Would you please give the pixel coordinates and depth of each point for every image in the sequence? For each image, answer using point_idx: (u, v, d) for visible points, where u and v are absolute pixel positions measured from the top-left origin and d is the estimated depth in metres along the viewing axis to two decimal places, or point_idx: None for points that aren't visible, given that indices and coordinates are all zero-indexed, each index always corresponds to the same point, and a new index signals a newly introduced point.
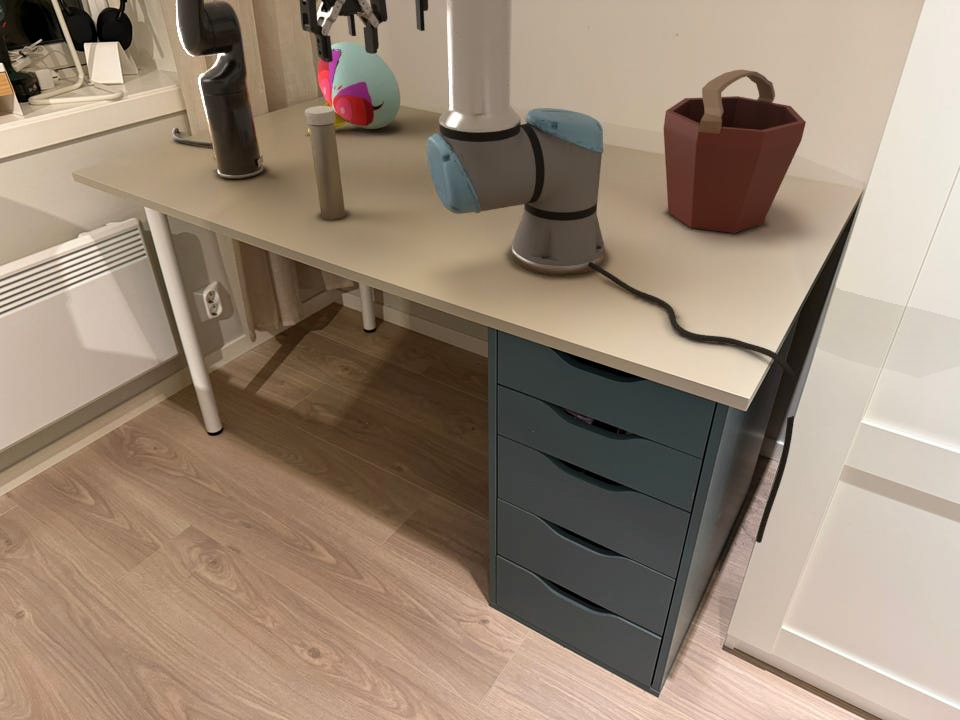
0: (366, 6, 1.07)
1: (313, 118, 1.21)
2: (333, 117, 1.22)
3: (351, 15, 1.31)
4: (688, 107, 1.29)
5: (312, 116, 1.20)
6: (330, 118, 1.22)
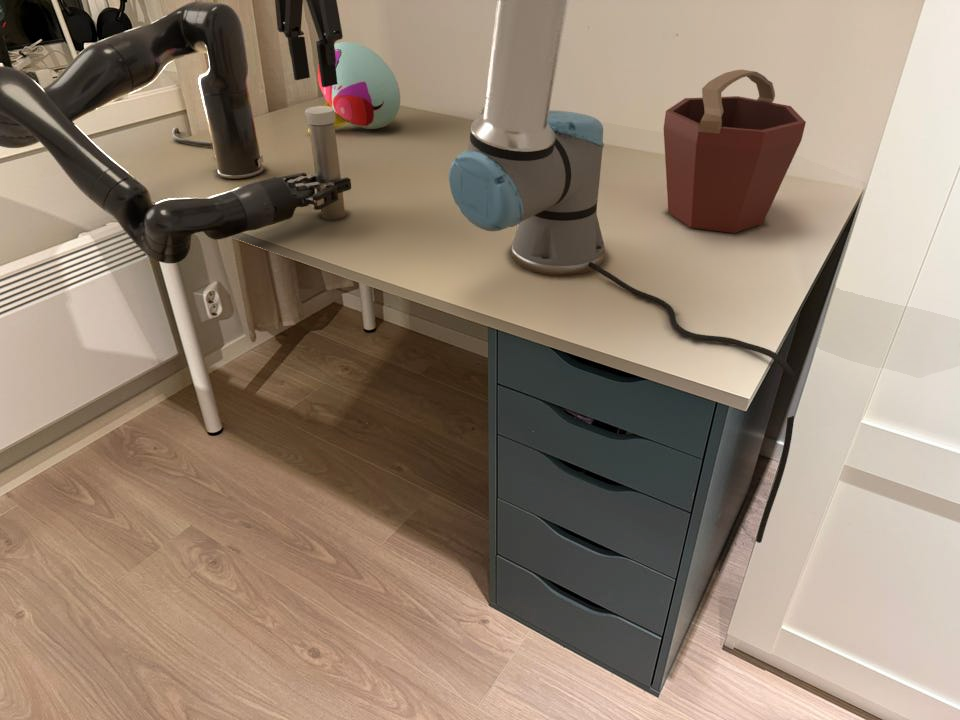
0: (299, 178, 1.27)
1: (313, 118, 1.21)
2: (333, 117, 1.22)
3: (292, 57, 1.19)
4: (688, 107, 1.29)
5: (312, 116, 1.20)
6: (330, 118, 1.22)
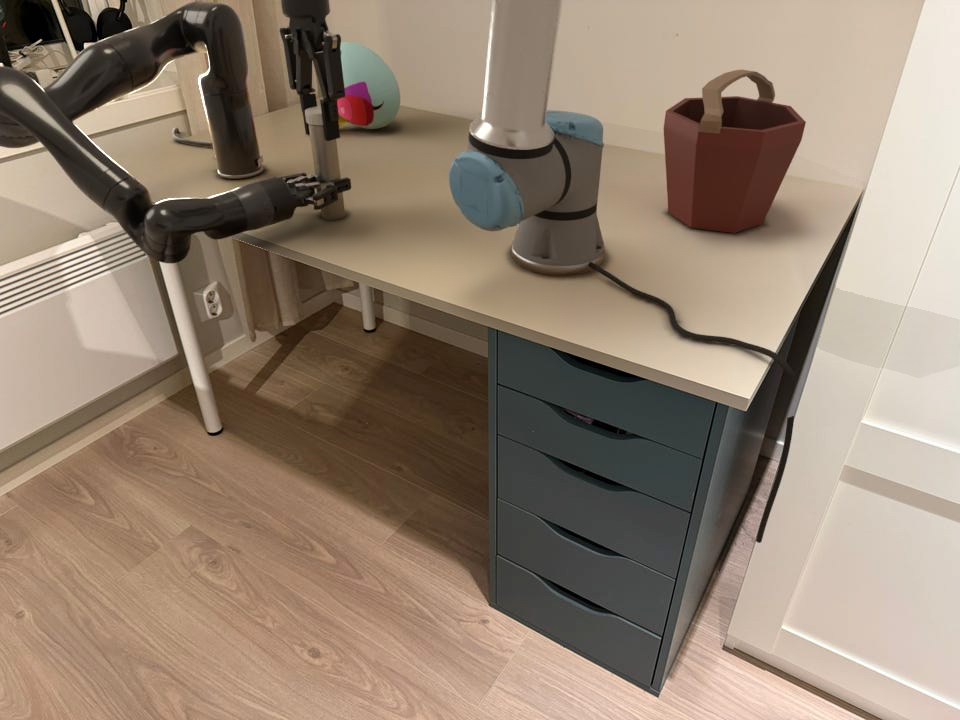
0: (299, 178, 1.27)
1: (313, 118, 1.21)
2: None
3: (303, 114, 1.23)
4: (688, 107, 1.29)
5: (312, 116, 1.20)
6: None
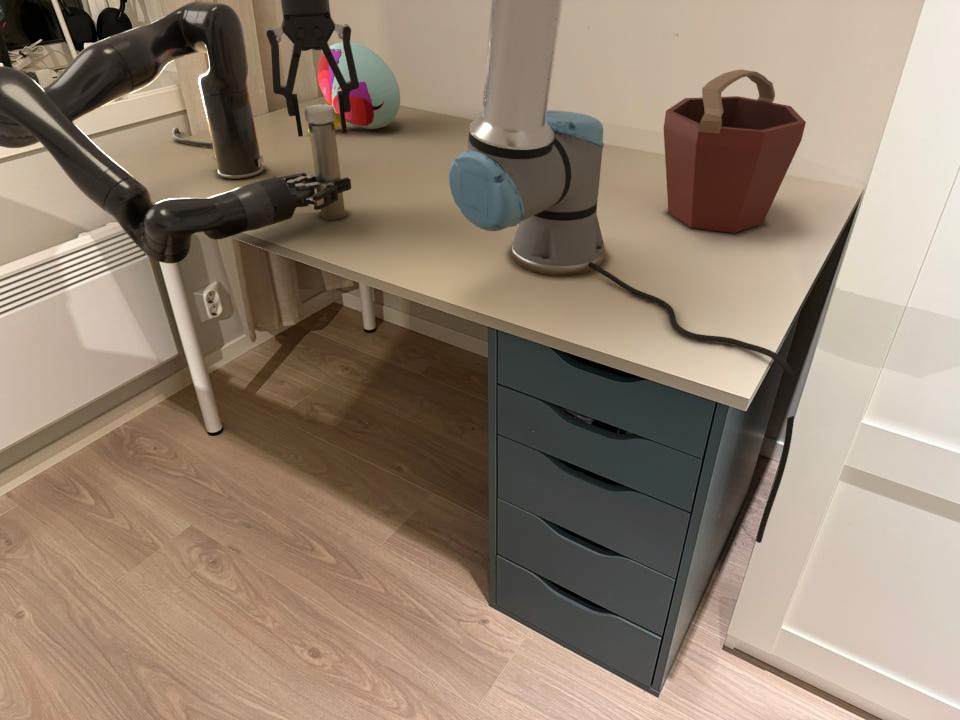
0: (299, 178, 1.27)
1: (333, 113, 1.22)
2: None
3: (296, 115, 1.20)
4: (688, 107, 1.29)
5: (332, 112, 1.22)
6: None
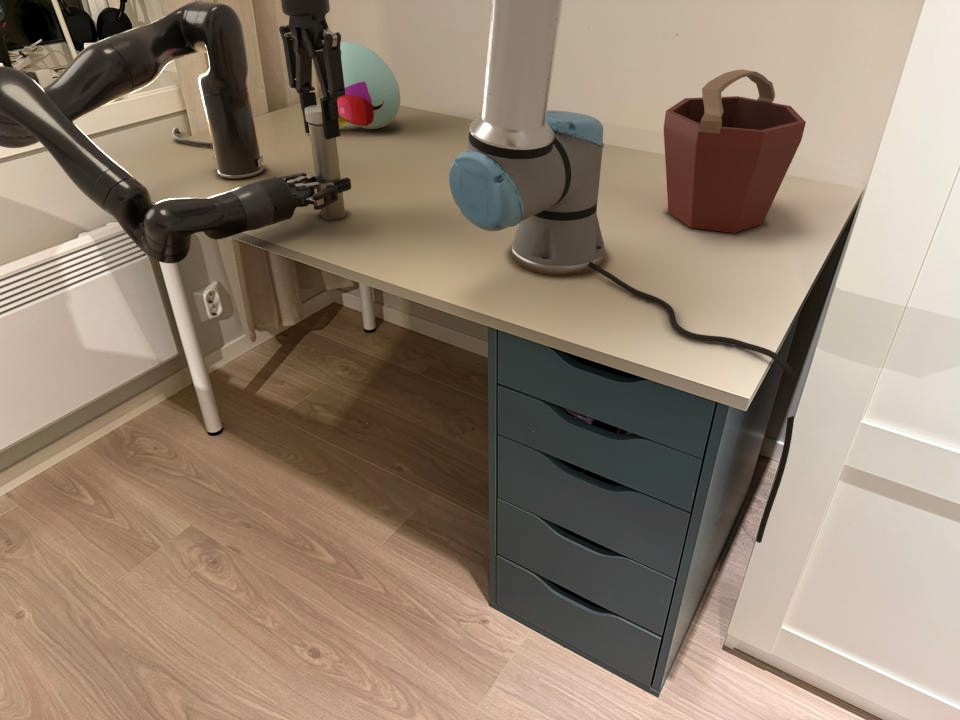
0: (299, 178, 1.27)
1: None
2: None
3: (303, 112, 1.23)
4: (688, 107, 1.29)
5: None
6: None
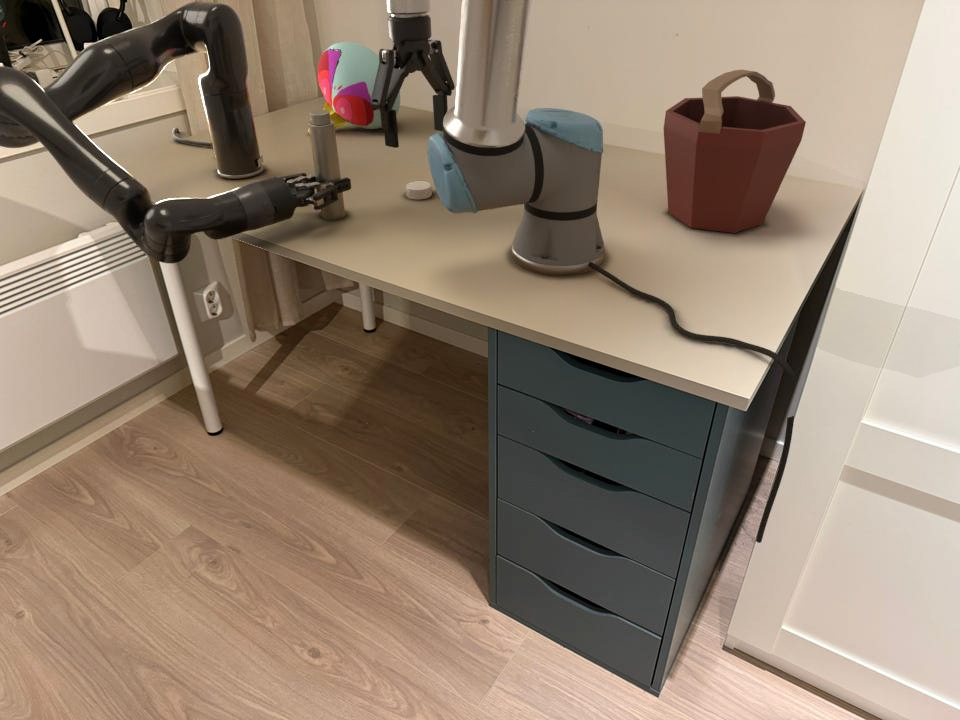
0: (299, 178, 1.27)
1: None
2: None
3: (395, 127, 1.27)
4: (688, 107, 1.29)
5: None
6: None
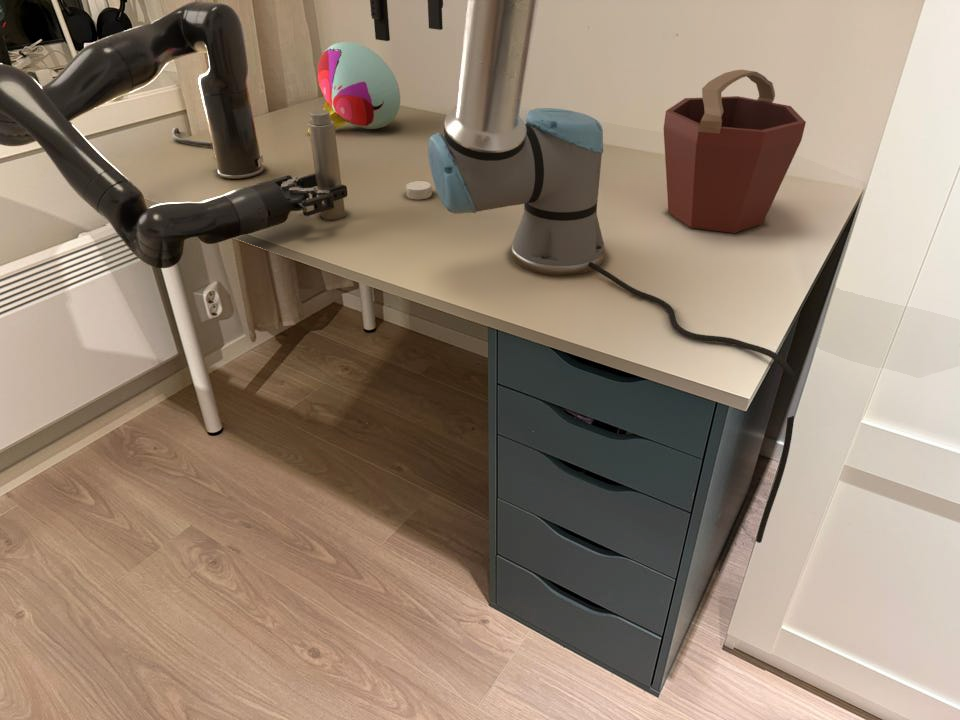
0: (289, 181, 1.27)
1: None
2: None
3: (386, 18, 1.17)
4: (688, 107, 1.29)
5: None
6: None
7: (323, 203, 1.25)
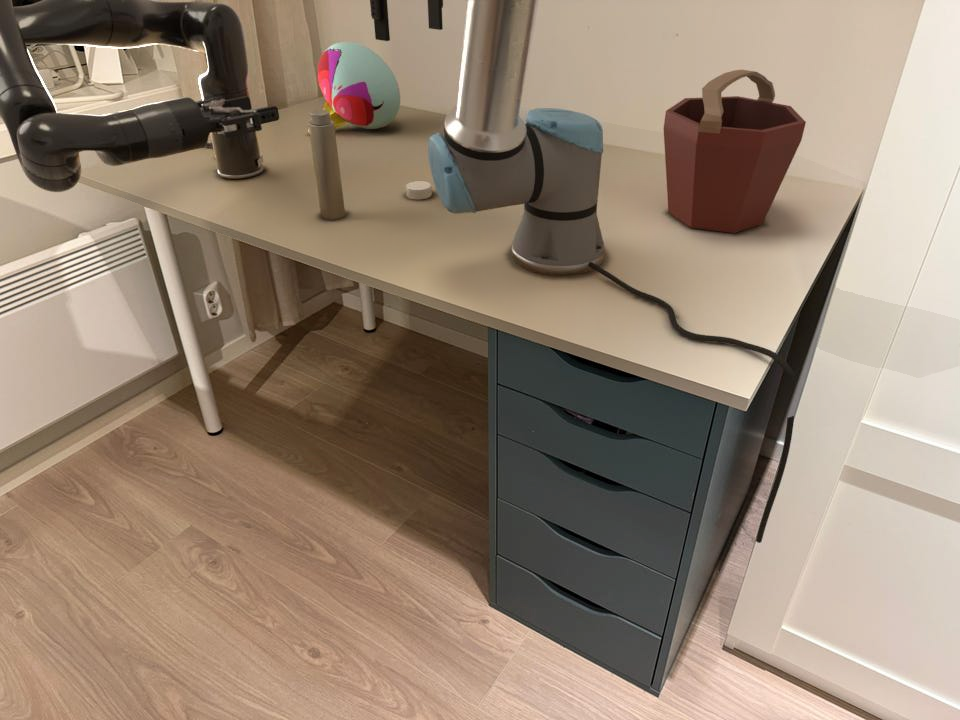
0: (212, 101, 1.11)
1: None
2: None
3: (386, 18, 1.17)
4: (688, 107, 1.29)
5: None
6: None
7: (249, 125, 1.09)
